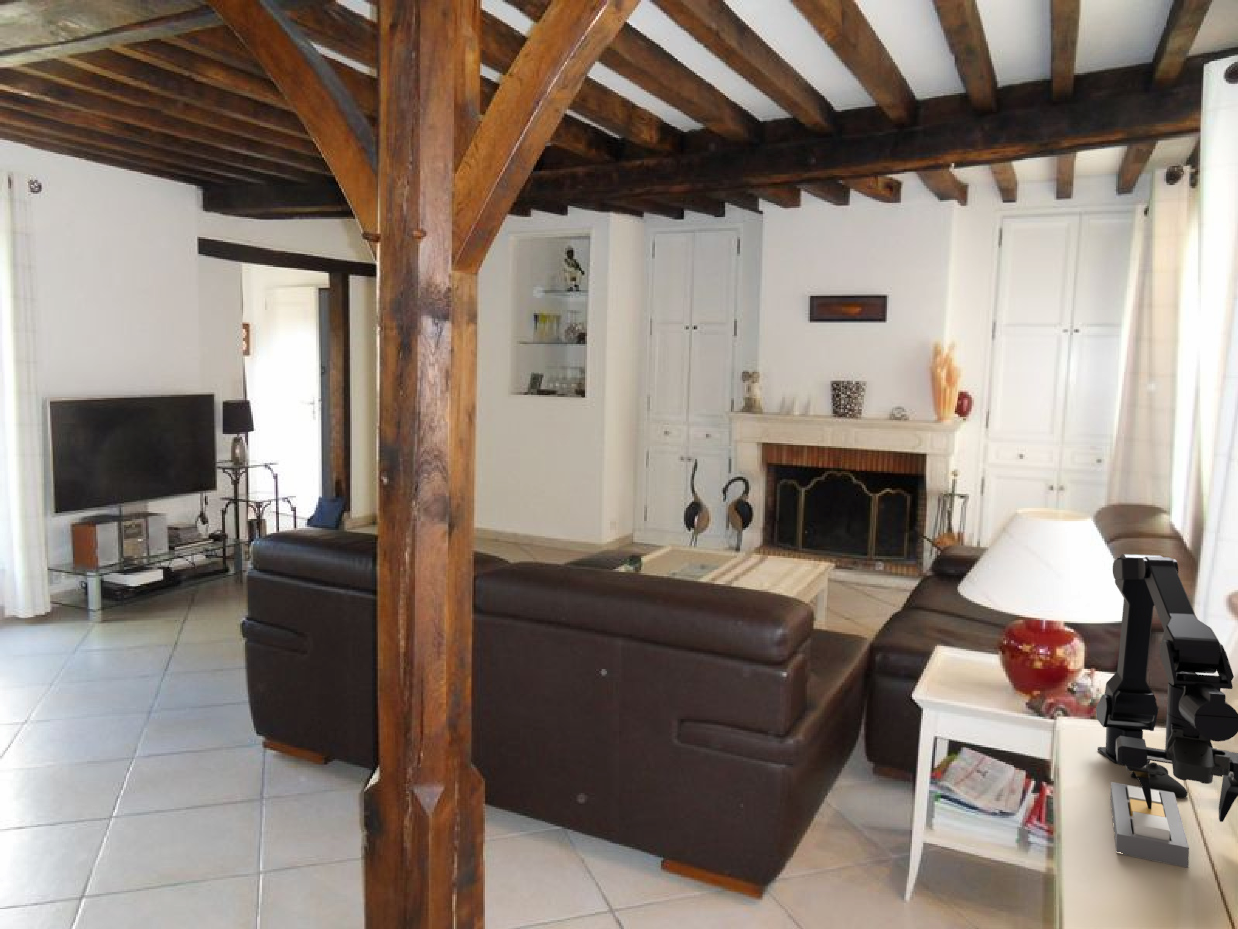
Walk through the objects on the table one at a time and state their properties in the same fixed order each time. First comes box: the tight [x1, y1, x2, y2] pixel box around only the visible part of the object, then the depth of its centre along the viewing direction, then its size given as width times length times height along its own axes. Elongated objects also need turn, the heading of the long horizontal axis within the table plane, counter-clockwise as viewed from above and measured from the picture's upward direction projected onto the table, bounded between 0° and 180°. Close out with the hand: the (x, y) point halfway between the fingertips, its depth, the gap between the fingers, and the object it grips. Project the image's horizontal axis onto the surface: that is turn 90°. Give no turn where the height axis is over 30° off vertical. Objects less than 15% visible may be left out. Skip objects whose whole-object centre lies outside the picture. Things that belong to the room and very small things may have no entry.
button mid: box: [1129, 799, 1165, 817], centre depth 135 cm, size 4×4×2 cm
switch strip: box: [1109, 781, 1190, 868], centre depth 135 cm, size 19×9×3 cm, turn 153°
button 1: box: [1127, 785, 1161, 804], centre depth 141 cm, size 4×4×2 cm
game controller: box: [1130, 761, 1188, 799], centre depth 151 cm, size 10×5×6 cm
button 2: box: [1132, 811, 1170, 841], centre depth 130 cm, size 4×4×2 cm
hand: (1184, 814), depth 133 cm, fingers open, 9 cm apart
